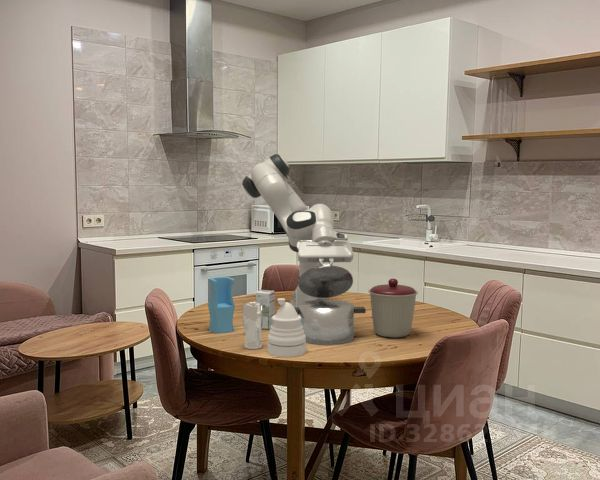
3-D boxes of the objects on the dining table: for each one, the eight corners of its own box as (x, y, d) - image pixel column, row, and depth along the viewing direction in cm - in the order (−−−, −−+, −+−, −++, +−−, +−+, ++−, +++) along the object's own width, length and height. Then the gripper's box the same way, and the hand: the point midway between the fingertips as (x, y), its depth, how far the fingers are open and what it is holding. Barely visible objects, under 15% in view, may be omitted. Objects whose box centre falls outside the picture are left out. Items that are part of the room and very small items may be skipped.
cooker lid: (297, 298, 224) (296, 291, 225) (349, 297, 225) (348, 290, 227) (300, 267, 208) (299, 261, 210) (356, 267, 209) (355, 260, 211)
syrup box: (275, 326, 231) (275, 290, 230) (269, 330, 226) (269, 292, 224) (261, 325, 233) (261, 289, 232) (255, 328, 228) (255, 291, 226)
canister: (365, 328, 229) (366, 274, 227) (412, 328, 228) (413, 274, 226) (369, 340, 211) (370, 282, 209) (420, 341, 211) (422, 283, 208)
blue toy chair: (215, 333, 220) (214, 280, 218) (208, 329, 227) (207, 277, 225) (235, 331, 224) (234, 279, 222) (227, 326, 231) (227, 276, 229)
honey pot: (275, 359, 189) (275, 303, 188) (262, 348, 201) (261, 296, 199) (312, 354, 194) (312, 300, 193) (296, 344, 206) (296, 293, 204)
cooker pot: (286, 329, 226) (286, 298, 225) (358, 328, 228) (359, 298, 227) (289, 345, 205) (289, 311, 204) (369, 344, 207) (369, 310, 206)
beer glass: (243, 344, 206) (242, 301, 205) (263, 343, 207) (263, 301, 205) (243, 349, 199) (242, 306, 198) (263, 349, 200) (263, 305, 198)
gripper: (296, 235, 217) (298, 265, 209) (351, 234, 219) (355, 264, 210) (295, 245, 222) (297, 275, 213) (349, 245, 224) (353, 275, 215)
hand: (326, 270), depth 212 cm, fingers closed, pressing on cooker lid
